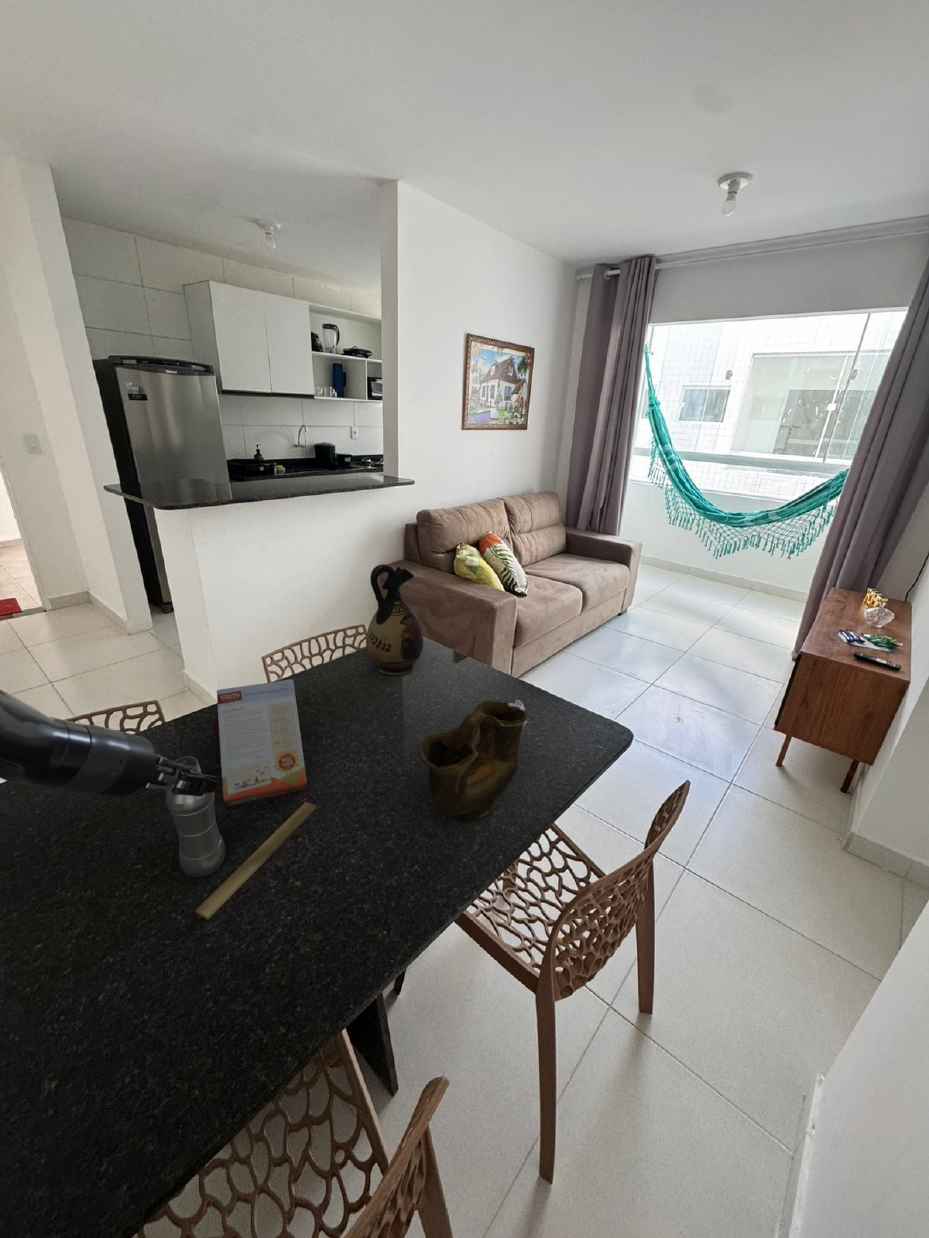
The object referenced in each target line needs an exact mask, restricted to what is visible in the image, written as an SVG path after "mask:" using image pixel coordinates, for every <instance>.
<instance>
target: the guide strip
mask: <svg viewBox="0 0 929 1238" xmlns="http://www.w3.org/2000/svg"><path fill="white" fill-rule="evenodd" d="M315 810H317V805H315V804H313V803H310V802H307V801H305V802H304V803H303V804H301V806H300V807H298V809H296V810H295V812H294V813H293V814H292V815H290V817H289V818H287V820H285V821H284V822H283V823H282V825H280V826H279V827H278V828H277V829H276V830H275V831H274V832H273V833H272V834H271V835H270V836H269V837H268V838H267V839H266V840H265V841H264V842H263V843H262V844H261V845H260V846H259V847H258V848H257V849H256V850H255V851H254V852H253V853H252V854H251V855H249V857H248V858H247V859H246V860H245V861H244V862H243V863H242V864H241V865H240V866H239V867H237V869H236V870H235V871H233V873H232V874H231V875H230V876H228V877H227V879H225V880H224V881H223V883H221V884H220V885H219V886H218V888H216V889H215V890H214V891H213V892H212V893H211V894H210V895H209V896H208V897H207V898H206V899H205V900H204V901H203V902H202V903H201V904H200V905H199V906H198V907H197V908H196V909H195V914H197V915H199V916H201V917H202V918H204V919H206V920H210V919H211V917H212V916H213V915H214V914H216V913H217V912H218V910H220V908H221V907H222V906H223V905H224V904H225V903H226V902H227V901H228V900H229V899H230V898H231V897H232V896H233V895H234V894H235V893H236V892H237V891H238V890H239V889H240V888H241V887H242V886H243V885H244V884H245V883H246V882H247V881H248V879H249V878H250V877H252V875H253V874H255V872H257V870H258V869H259V868H260V867H261V866H262V865H263V864H264V863H265V862H266V861H267V860H268V859H269V858H270V857H271V856H272V855H273V854H274V853H275V852H276V851H277V850H278V849H279V848H280V846H281V845H282V844H284V843H285V841H286V840H287V839H288V838H289V837H291V835H292V834H293V833H294V832H295V831H296V830H297V829H298V828H299V827H300V826H301V825H302V824H303V823H304V822H305V821H306V820H307V819H308V818H309V817H310V816H311V815H312V814H313V812H315Z"/></svg>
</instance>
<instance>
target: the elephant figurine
mask: <svg viewBox="0 0 929 1238" xmlns="http://www.w3.org/2000/svg"><path fill="white" fill-rule="evenodd" d="M507 703H508V705H509V706H515V707H520V709H521V710H524V711H526V709H525V705H524V703H523V702H522V701H521V700H520V699H515V700H514V702H507ZM527 723H528V719H527V720H526V721H525V722H524V724H523V727H522V728H524V727H526V725H527Z"/></svg>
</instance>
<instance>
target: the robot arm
mask: <svg viewBox="0 0 929 1238" xmlns="http://www.w3.org/2000/svg"><path fill="white" fill-rule="evenodd" d="M174 761H175V760H170V759H169V758H167V757H165V756H163V755H161V754H159V753H156V750H155V747H154V745H153V743H152V741H151V740H149V739H148V738H147V737H145V736H142V735H137V734H133V733H129V732H125V731H121V730H117V729H113V728H109V727H104V726H101V725H93V724H84V723H79V722H74V721H70V720H65V719H61V718H57V717H53V716H48V715H46V714H45V713H43V712H41V711H40V710H38V709H37V708H35V707H33V706H31V705H30V704H28V703H26V702H25V701H22V700H21V699H19V698H18V697H16V696H14V695H12V694H10V693H8V692H7V691H4V690H3V689H0V779H1V780H4V781H6V782H10V783H16V784H23V785H29V786H30V785H31V786H39V787H46V788H48V787H49V788H55V789H58V790H62V791H65V792H71V793H80V794H88V795H89V794H90V795H98V796H106V797H115V798H123V797H127V796H130V795H132V794H134V793H136V792H138V791H139V790H140V789H142V788H146V789H151V790H158V789H160V790H163V791H171V792H172V793H174V794H175V795H190V796H203V794H204V792H208V793H213V792H214V793H215V791H216V789H217V787H218V785H219V783H220V778H219V777H218V776H216V775H215V776H214V775H209V774H204V773H203V772H201V773H200V772H199V773H197V772H193V771H190V768H189V767H187V766H186V765H182V764H178V763H175V762H174ZM176 768H178V769H180V772H179V774H178V776H177V777H175V774H176Z"/></svg>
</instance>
